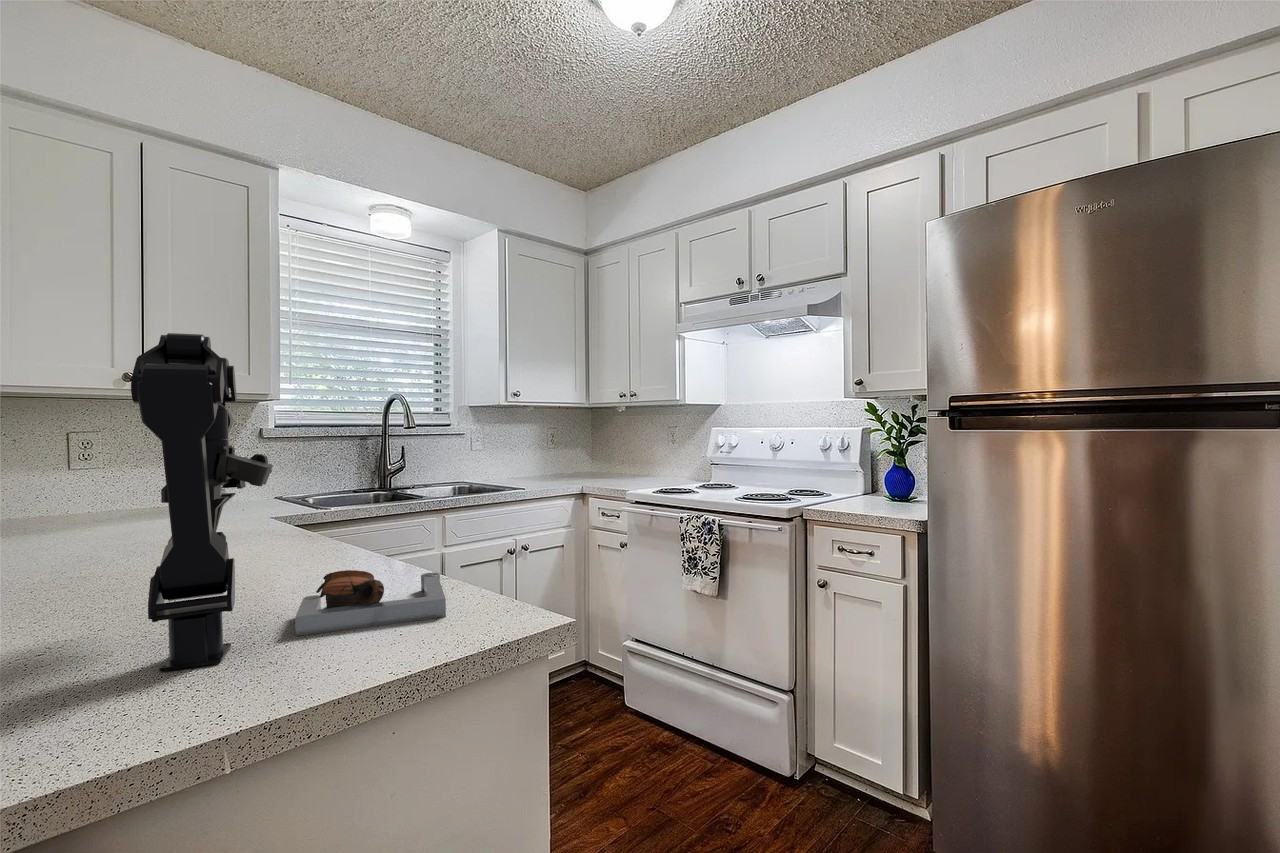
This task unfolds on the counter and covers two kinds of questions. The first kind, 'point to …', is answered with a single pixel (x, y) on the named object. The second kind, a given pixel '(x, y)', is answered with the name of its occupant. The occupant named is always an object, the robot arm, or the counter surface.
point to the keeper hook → (372, 610)
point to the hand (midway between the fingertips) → (208, 541)
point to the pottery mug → (350, 588)
